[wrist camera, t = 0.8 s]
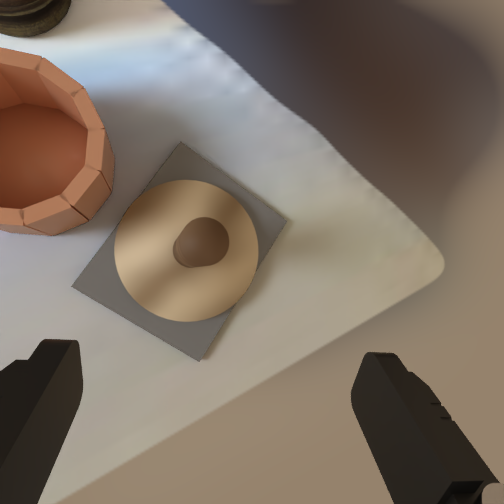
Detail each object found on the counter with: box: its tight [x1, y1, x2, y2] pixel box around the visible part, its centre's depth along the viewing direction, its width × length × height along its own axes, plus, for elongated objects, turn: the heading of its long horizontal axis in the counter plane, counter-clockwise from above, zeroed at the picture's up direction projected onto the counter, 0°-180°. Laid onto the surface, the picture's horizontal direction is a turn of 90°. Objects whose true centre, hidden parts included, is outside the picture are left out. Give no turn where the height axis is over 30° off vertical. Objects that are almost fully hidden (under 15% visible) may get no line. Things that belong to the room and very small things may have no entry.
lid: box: [114, 180, 258, 322], centre depth 24 cm, size 12×12×9 cm
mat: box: [71, 142, 287, 362], centre depth 29 cm, size 12×15×1 cm
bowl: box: [0, 48, 115, 236], centre depth 23 cm, size 11×11×6 cm
